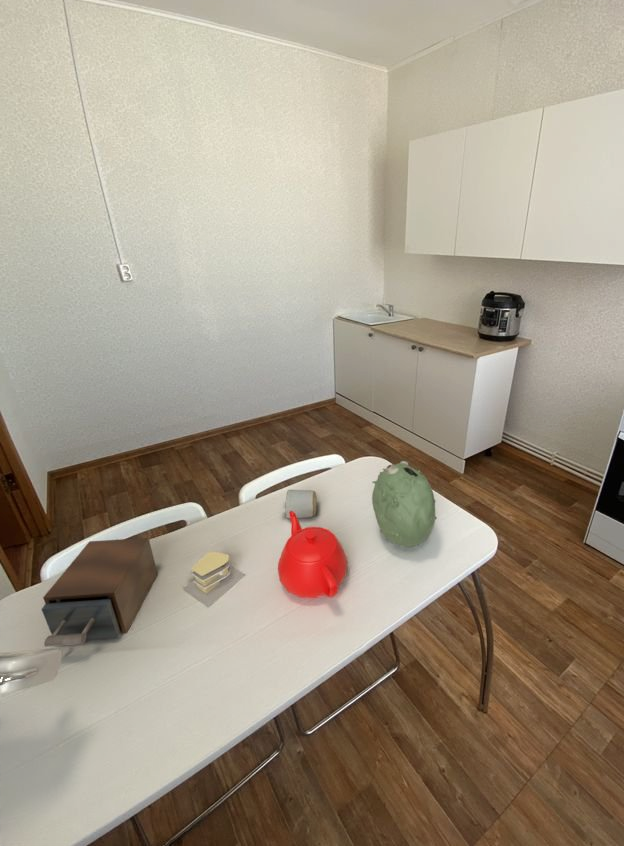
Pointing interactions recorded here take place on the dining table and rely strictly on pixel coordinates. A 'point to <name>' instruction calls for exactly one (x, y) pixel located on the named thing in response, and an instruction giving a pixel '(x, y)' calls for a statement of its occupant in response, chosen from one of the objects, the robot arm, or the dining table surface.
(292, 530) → the teapot
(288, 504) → the ceramic mug
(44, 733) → the dining table surface
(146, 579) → the cabinet
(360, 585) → the dining table surface
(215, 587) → the stacked layers on plate
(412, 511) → the green bumpy oval shape
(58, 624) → the dark grey drawer
